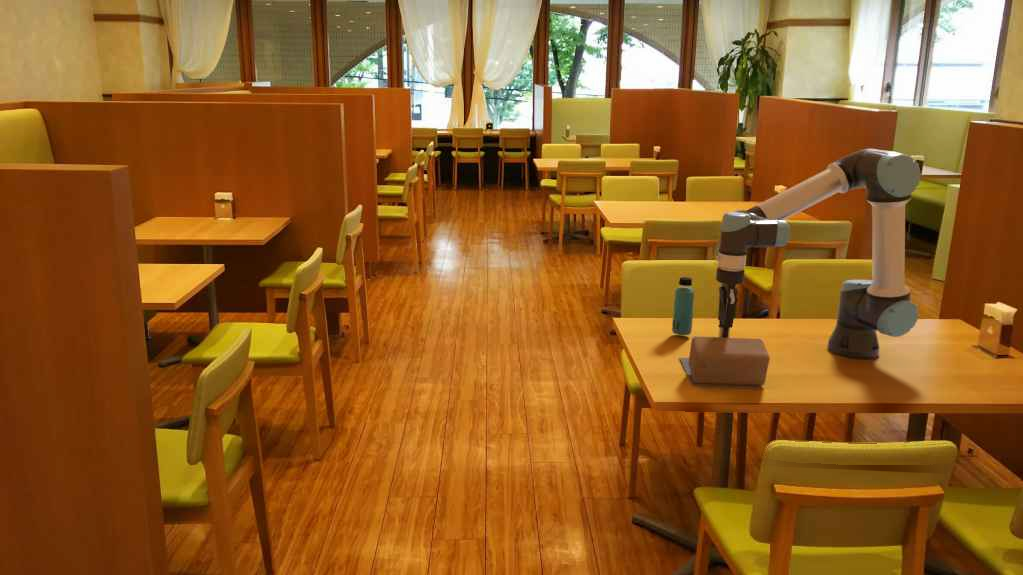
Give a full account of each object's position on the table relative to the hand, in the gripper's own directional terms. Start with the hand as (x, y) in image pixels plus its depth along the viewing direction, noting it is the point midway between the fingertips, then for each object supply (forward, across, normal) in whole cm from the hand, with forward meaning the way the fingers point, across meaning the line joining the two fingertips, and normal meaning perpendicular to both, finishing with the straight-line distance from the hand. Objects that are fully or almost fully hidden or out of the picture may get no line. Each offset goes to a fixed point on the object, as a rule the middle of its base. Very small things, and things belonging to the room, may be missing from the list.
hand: (722, 347), depth 235 cm
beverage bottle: (+8, -34, -6) cm, 35 cm away
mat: (+8, -1, 0) cm, 8 cm away
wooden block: (+2, +5, +11) cm, 12 cm away
